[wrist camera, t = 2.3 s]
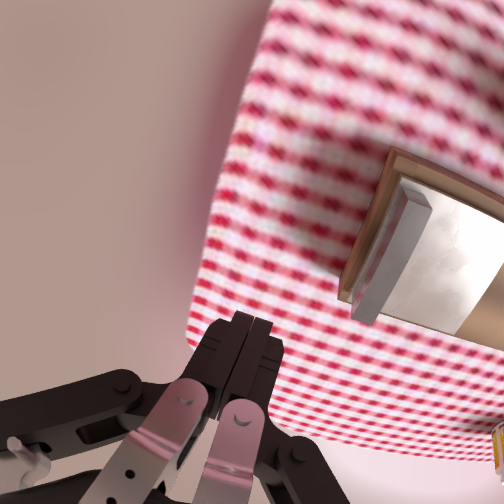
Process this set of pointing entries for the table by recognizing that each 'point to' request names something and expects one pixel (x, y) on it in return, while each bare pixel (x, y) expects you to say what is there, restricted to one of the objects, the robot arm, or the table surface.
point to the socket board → (401, 162)
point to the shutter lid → (428, 259)
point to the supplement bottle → (499, 449)
